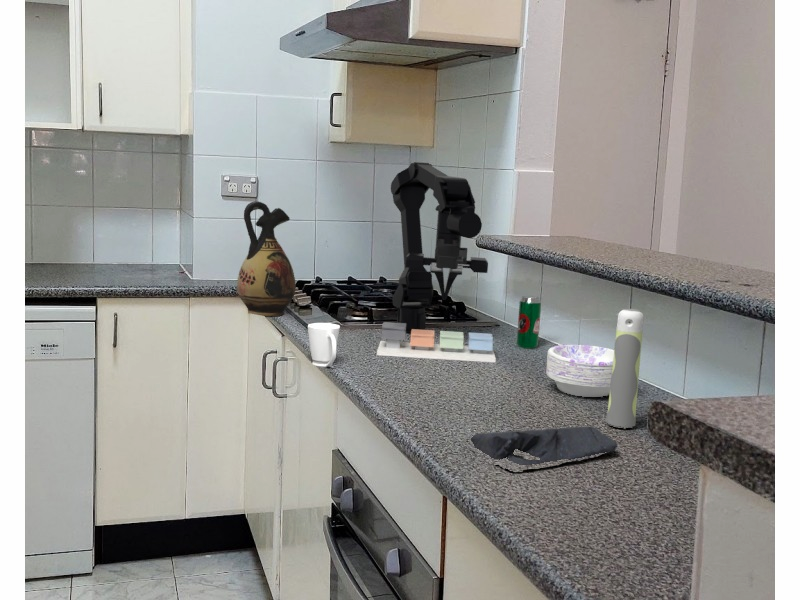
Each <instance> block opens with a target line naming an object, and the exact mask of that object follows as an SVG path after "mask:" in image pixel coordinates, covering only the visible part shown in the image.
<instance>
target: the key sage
mask: <svg viewBox="0 0 800 600" xmlns="http://www.w3.org/2000/svg"><path fill="white" fill-rule="evenodd" d="M464 337H465V336H464V332H463V331H448V330H446V331H445V330H440V331H439V344H440V347H439V348H455V349H463V346H464V339H465V338H464Z"/></svg>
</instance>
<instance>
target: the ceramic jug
mask: <svg viewBox="0 0 800 600" xmlns="http://www.w3.org/2000/svg"><path fill="white" fill-rule="evenodd" d="M255 210H260V211H262V213H263V214H262V215H261V216H259V218H258V220H257V221H255V222H256V223H255V225H256V226H257V227H259V228H261V232H260V233H259V236H258V237H257V234H256V232H255V230H254V226H253V223H252V216H251V214H252V212H253V211H255ZM290 220H291V219H290V217H289V215H288V214H287V213H286V212H285V210H283V209H281V208H280V207H277V208H274V209H273V210H272V211H270V208H269V207H268V205H267V204H265V203H264V202H262V201H258V200H257V201H256V200H254V201H251V202H249V203H248V204H247V205H246V206H245V208H244V211H243V221H244V223H245V227H246V229H247V235H248V236H249V241H250V244H249V248H248V253H247V255H246V257H245V259H244V260H243V262H242V264H241V266H240V269H239V273H238V276H237V284H236V287H237V288H236V289H237V293H238V296H239V299H240V300H241V301H242V302H243V304H244V305H245V307H246V308H247V314H249V315H251V314H252V315H257V316H262V317H282V316H283V315H284V314H285V313H284V312H285V311H286V309H287V306H289V304H290V303H291V301H292V300H293V299H294V295H295V294H296V287H297V284H296V277H295V272H294V269H293V266H292V264H291V261H290V259H289V257H288V255H287V254H286V252H285V250H284V249H283V247H282V246H281V244H280V243H279V241H278V239H277V238H276V237H275V236H276V235H275V228H277V226H280V225H282V224H284V223H286V222H289V221H290Z"/></svg>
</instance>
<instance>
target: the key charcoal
mask: <svg viewBox="0 0 800 600" xmlns="http://www.w3.org/2000/svg"><path fill="white" fill-rule="evenodd" d="M406 334H407V332H406V323H397V322H389V321H387V322H386V321H384V322H383V323H382V325H381V340H382V339H383V340H384V339H385V340H387V339H397V340H400V341H406V336H407V335H406Z"/></svg>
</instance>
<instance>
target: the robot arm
mask: <svg viewBox="0 0 800 600" xmlns="http://www.w3.org/2000/svg"><path fill="white" fill-rule="evenodd" d="M429 189H430V190H432V191H433V192H432V196H433V198H435V199H436V200H437V203H438V205H436V207H435V211H436V212H437V221H436V222H437V223H436V239H435V249H434V257H428V256H427V257H425V253H424V252H423V240H422V228H421V227H422V225H421V211H420V209H422V206H423V204H424V203H425V200H426V193H427V192H428V191H429ZM390 192H391V194H392V201H393V203H394V205H395V207H396V208H397V209H398V211H399V212H400V223H401V235H402V236H401V238H402V252H403V265H404V268H403V271H402V273H401V274H400V276H399V279H398V286H397V288H396V290H395V292H394V294H393V296H392V299H391V300H392V305H393V306H394V307H395V308H397V317H396V318H397V320H396V321H397V322H396V323H406V334H407V333H408V334H411V330H412V329H418V330H428V328H426V323H427V322H426V321H427V320H426V319H427V314H426V308H428V309H431V306H432V302H433V298H434V293H435V289H434V285H433V274H434V275H435V277H436V280H437V283H438V285H439V290H440V294H441V298H442V299H441V300H444V301H445V300H447V298H448V296H449V294H450V291H451V288H452V285H453V283H454V282H455V279H456V278H457V276H461V275H463V270H464V269H471V270H472V272H473V273H478V274H479V273H480V274H487V273H488V268H489V262H488V260H487V258H485V257H473V256H471V257H470V260H469V259H467V258H468V247H461V244H462V238H465V239H473V238H475V237H477V235H479V234H480V232H481V230H482V227H483V223H482V220H481V217H480V216H479V215H478V214H477V213H476V212H475V211H476V206H475V204H476V201H475V198H474V195H473V193H472V189H471V185H470V184H469V181H468V180H467V178H465V177H457V176H450V175H447V174H446V173H444V172H442V171H441V170H439V169H438V168H436V167H434V166H433V165H432V164H431V163H429V162H420V161H419V162H417V161H414V162H412V163H410V164H409V166H408V167H407V168H404V169H403V170H401V171H400V172H398V173H397V174H396V175H395V177H394V178H393V180H392V182H391V183H390ZM425 266H430V271H428V270H427V269H426V267H425ZM444 269H449V270H448V275H447V280H446V284H445V278H444V277H445V276H444Z"/></svg>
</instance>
